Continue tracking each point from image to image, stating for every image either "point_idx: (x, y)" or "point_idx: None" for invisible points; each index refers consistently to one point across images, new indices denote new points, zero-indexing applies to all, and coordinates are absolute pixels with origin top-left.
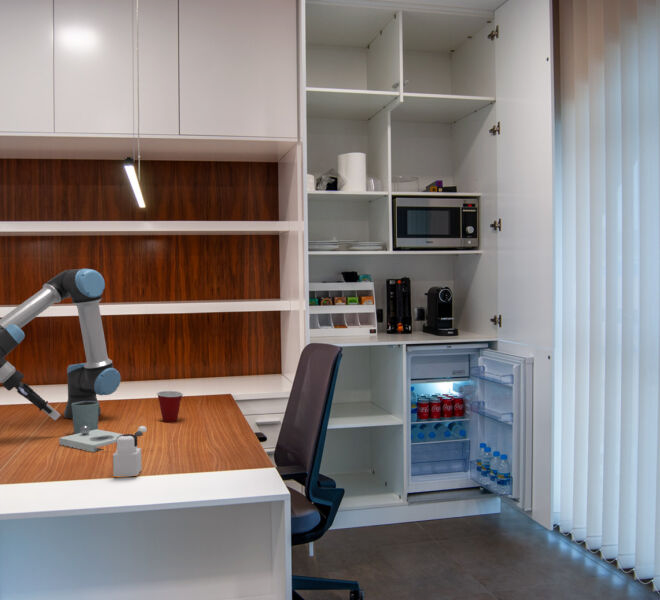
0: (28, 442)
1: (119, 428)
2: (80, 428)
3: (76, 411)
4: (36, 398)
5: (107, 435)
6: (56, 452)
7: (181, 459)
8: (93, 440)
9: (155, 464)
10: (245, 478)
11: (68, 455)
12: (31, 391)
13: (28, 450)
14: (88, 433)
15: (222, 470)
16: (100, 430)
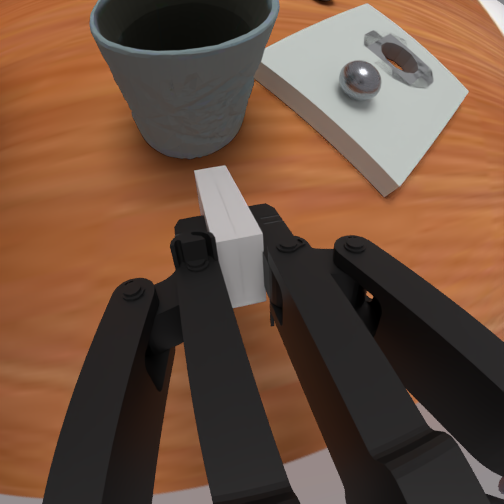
0: None
1: None
2: (371, 90)
3: (257, 56)
4: (459, 316)
5: (364, 39)
6: (467, 195)
7: (457, 7)
8: (426, 80)
9: (487, 40)
10: (493, 5)
11: (485, 160)
12: (452, 457)
13: None
14: (330, 81)
15: (480, 3)
16: (281, 46)
